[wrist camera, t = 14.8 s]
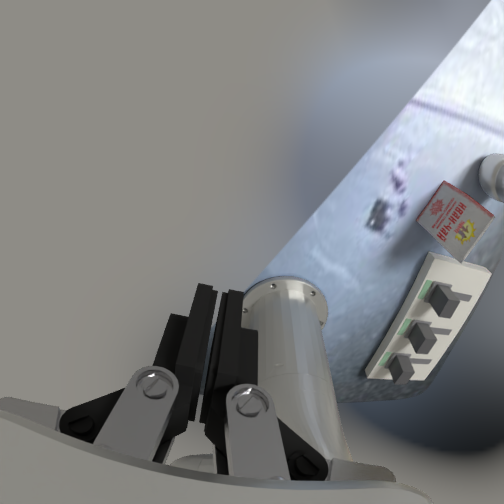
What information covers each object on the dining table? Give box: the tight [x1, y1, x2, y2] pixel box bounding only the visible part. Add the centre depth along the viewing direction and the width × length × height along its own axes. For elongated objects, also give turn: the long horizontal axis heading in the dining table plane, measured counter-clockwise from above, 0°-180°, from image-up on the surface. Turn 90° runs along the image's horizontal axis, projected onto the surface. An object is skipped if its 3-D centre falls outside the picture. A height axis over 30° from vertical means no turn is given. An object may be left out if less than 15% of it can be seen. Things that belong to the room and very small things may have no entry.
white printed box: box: [416, 181, 495, 263], centre depth 33 cm, size 4×7×10 cm, turn 150°
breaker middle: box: [404, 320, 437, 354], centre depth 42 cm, size 4×4×4 cm
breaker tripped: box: [424, 281, 460, 319], centre depth 39 cm, size 4×4×4 cm
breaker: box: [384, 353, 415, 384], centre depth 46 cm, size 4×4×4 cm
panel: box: [365, 252, 491, 380], centre depth 45 cm, size 24×13×2 cm, turn 168°
